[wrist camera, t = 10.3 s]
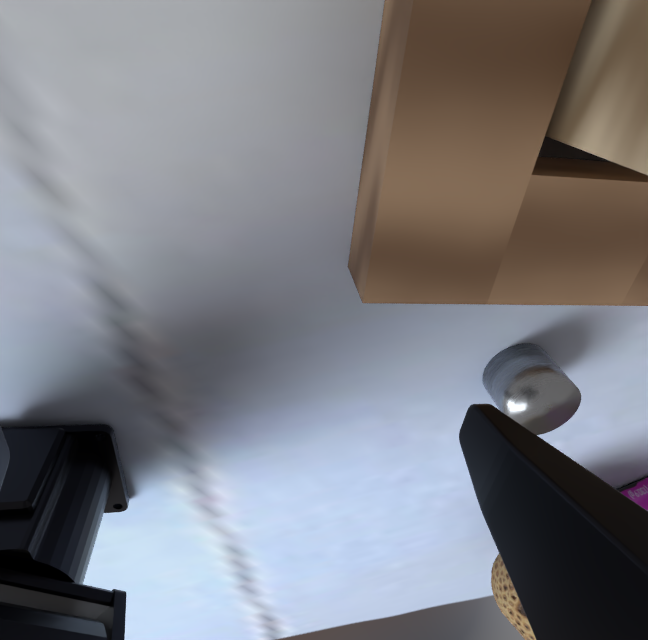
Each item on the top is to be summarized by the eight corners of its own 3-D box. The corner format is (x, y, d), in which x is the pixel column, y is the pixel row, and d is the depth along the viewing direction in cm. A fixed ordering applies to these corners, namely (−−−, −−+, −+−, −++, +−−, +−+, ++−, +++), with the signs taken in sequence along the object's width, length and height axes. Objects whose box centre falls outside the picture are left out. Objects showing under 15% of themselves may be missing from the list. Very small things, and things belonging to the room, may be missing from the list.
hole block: (667, 274, 22) (721, 306, 19) (348, 266, 19) (362, 303, 17) (948, -212, 13) (1111, -266, 11) (434, -353, 10) (491, -471, 8)
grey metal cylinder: (532, 393, 25) (563, 434, 23) (474, 395, 25) (499, 437, 22) (556, 342, 23) (593, 380, 21) (493, 343, 23) (523, 382, 20)
